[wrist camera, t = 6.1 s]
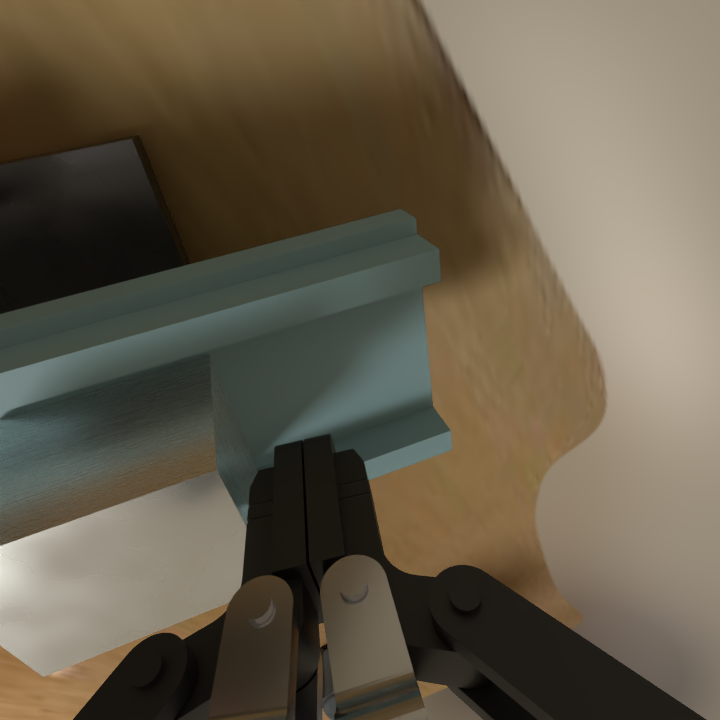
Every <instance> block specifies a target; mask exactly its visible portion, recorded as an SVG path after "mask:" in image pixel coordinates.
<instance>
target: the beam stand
mask: <svg viewBox="0 0 720 720" xmlns="http://www.w3.org/2000/svg"><path fill="white" fill-rule="evenodd" d="M189 264H190V263H189V260H188V258H187V255H186V253H185V250H184V248H183V245H182V243H181V240H180V238H179V235H178V233H177V230H176V228H175V225H174V223H173V220H172V218H171V215H170V213H169V210H168V208H167V205H166V203H165V200H164V198H163V195H162V193H161V190H160V188H159V185H158V183H157V180H156V178H155V175H154V173H153V170H152V168H151V165H150V163H149V160H148V158H147V155H146V153H145V150H144V148H143V145H142V143H141V140H140V138H139V136H134V137H129V138H124V139H119V140H114V141H109V142H104V143H99V144H94V145H89V146H84V147H79V148H74V149H69V150H64V151H59V152H54V153H49V154H43V155H38V156H33V157H28V158H23V159H18V160H13V161H8V162H3V163H0V314H3V313H6V312H10V311H14V310H18V309H22V308H25V307H29V306H33V305H37V304H41V303H44V302H48V301H52V300H56V299H60V298H63V297H67V296H71V295H75V294H79V293H82V292H86V291H90V290H94V289H98V288H101V287H105V286H109V285H113V284H117V283H120V282H124V281H128V280H132V279H136V278H139V277H143V276H147V275H151V274H155V273H158V272H162V271H166V270H170V269H174V268H177V267H181V266H185V265H189Z"/></svg>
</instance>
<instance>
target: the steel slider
mask: <svg viewBox="0 0 720 720" xmlns="http://www.w3.org/2000/svg"><path fill="white" fill-rule="evenodd" d="M256 475H257V468H256V462H255V458H254V455H253V453H252V451H251V449H250V446H249V444H248V442H247V439H246V437H245V435H244V433H243V430H242V428H241V426H240V424H239V421H238V419H237V417H236V414H235V412H234V410H233V408H232V405H231V403H230V401H229V399H228V396H227V394H226V392H225V389H224V387H223V385H222V383H221V380H220V378H219V376H218V374H217V371H216V369H215V367H214V364H213V362H212V360H211V358H210V355H207V356H204V357H201V358H197V359H194V360H191V361H188V362H185V363H181V364H178V365H175V366H172V367H168V368H165V369H162V370H159V371H155V372H152V373H149V374H146V375H142V376H139V377H136V378H133V379H129V380H126V381H123V382H120V383H117V384H113V385H110V386H107V387H104V388H100V389H97V390H94V391H91V392H87V393H84V394H81V395H78V396H74V397H71V398H68V399H65V400H62V401H58V402H55V403H52V404H49V405H45V406H42V407H39V408H36V409H32V410H29V411H26V412H23V413H19V414H16V415H13V416H10V417H7V418H3V419H0V646H2V647H3V648H4V649H6V650H7V651H8V652H10V653H11V654H13V655H14V656H15V657H17V658H18V659H20V660H21V661H22V662H24V663H25V664H26V665H28V666H29V667H31V668H32V669H33V670H35V671H36V672H37V673H39V674H40V675H42V676H43V677H45V676H47V675H50V674H52V673H55V672H57V671H60V670H62V669H65V668H67V667H69V666H72V665H74V664H77V663H79V662H82V661H84V660H87V659H89V658H92V657H94V656H97V655H99V654H102V653H104V652H107V651H109V650H112V649H114V648H117V647H119V646H122V645H124V644H127V643H129V642H132V641H134V640H137V639H139V638H142V637H144V636H147V635H149V634H152V633H154V632H157V631H159V630H162V629H164V628H167V627H169V626H172V625H174V624H177V623H179V622H182V621H184V620H187V619H189V618H192V617H194V616H197V615H199V614H202V613H204V612H206V611H209V610H211V609H214V608H216V607H219V606H221V605H224V604H226V603H229V602H230V601H231V599H232V597H233V596H234V594H235V593H236V592H237V591H238V590H239V589H240V587H241V583H242V575H243V563H244V551H245V539H246V527H247V524H248V521H247V515H248V509H249V506H248V502H249V490H250V486H251V484H252V482H253V480H254V478H255V476H256Z"/></svg>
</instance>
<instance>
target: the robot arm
mask: <svg viewBox="0 0 720 720" xmlns="http://www.w3.org/2000/svg"><path fill="white" fill-rule="evenodd" d="M248 506H249V509H248V515H247V521H248V524H247V527H246V539H245V551H244V563H243V575H242V583H241V587H240V589H239V590H238V591H237V592H236V593H235V594H234V596H233V597H232V599H231V601H230V603H229V605H228V607H227V611H226V612H225V613H224V614H223V615H222V616H220V617H219V618H218V619H217V620H215V621H214V622H212V623H211V624H209V625H207V626H206V627H204V628H202V629H200V630H199V631H197V632H195V633H194V634H192V635H190V636H189V637H187V638H185V639H183V640H182V639H181V638H179V637H178V636H177V635H175V634H172V633H159V634H156V635H153V636H150V637H148V638H147V639H145V640H143V641H142V642H140V643H139V644H138V645H137V646H135V647H134V648H133V649H132V650H131V651H130V652H129V653H128V655H127V656H126V657H125V658H124V659H123V661H122V662H121V663H120V664H119V665H118V666H117V668H116V669H115V670H114V671H113V672H112V674H111V675H110V676H109V677H108V678H107V680H106V681H105V682H104V683H103V684H102V686H101V687H100V688H99V689H98V690H97V691H96V693H95V694H94V695H93V696H92V697H91V699H90V700H89V701H88V702H87V703H86V705H85V706H84V707H83V708H82V709H81V711H80V712H79V713H78V714H77V715H76V716H75V718H74V719H73V720H322V706H323V662H322V655H321V652H320V639H319V624H320V623H324V625H325V632H326V639H327V646H328V653H329V659H330V666H331V673H332V680H333V687H334V694H335V702H336V712H335V715H334V720H428V718H427V714H426V711H425V707H424V704H423V700H422V697H421V693H420V690H419V687H418V684H417V681H423V682H429V683H435V684H441V685H447V686H448V687H449V689H450V690H451V691H452V692H453V693H455V694H456V695H457V696H458V697H459V698H460V699H461V700H462V701H464V703H466V704H467V705H468V706H469V707H470V708H471V709H472V710H473V711H475V712H476V713H477V714H478V715H479V716H480V717H481V718H482V719H483V720H706V719H704V718H703V717H701V716H700V715H698V714H697V713H695V712H694V711H693V710H691V709H689V708H688V707H686V706H685V705H684V704H682V703H681V702H679V701H677V700H676V699H675V698H673V697H671V696H670V695H668V694H667V693H666V692H664V691H662V690H661V689H660V688H658V687H657V686H655V685H654V684H652V683H651V682H649V681H647V680H646V679H645V678H643V677H642V676H640V675H638V674H637V673H636V672H634V671H633V670H631V669H630V668H628V667H627V666H625V665H623V664H622V663H621V662H619V661H618V660H616V659H614V658H613V657H612V656H610V655H608V654H607V653H606V652H604V651H602V650H601V649H600V648H598V647H597V646H595V645H593V644H592V643H591V642H589V641H588V640H586V639H585V638H583V637H582V636H580V635H579V634H577V633H575V632H574V631H573V630H571V629H570V628H568V627H567V626H565V625H564V624H562V623H561V622H559V621H558V620H556V619H555V618H553V617H552V616H550V615H549V614H547V613H546V612H544V611H543V610H541V609H540V608H538V607H537V606H535V605H534V604H532V603H531V602H529V601H528V600H526V599H525V598H523V597H522V596H520V595H519V594H517V593H516V592H514V591H513V590H511V589H510V588H508V587H507V586H505V585H504V584H502V583H501V582H499V581H498V580H496V579H495V578H493V577H492V576H490V575H489V574H487V573H486V572H484V571H482V570H481V569H478V568H476V567H473V566H468V565H457V566H453V567H449V568H447V569H445V570H443V571H442V572H441V573H439V574H438V576H437V577H428V576H419V575H412V574H408V573H405V572H403V571H401V570H399V569H397V568H396V567H394V566H393V565H392V564H391V563H390V562H389V561H388V560H387V558H386V557H385V555H384V551H383V546H382V541H381V536H380V531H379V526H378V522H377V517H376V512H375V507H374V502H373V497H372V493H371V489H370V485H369V480H368V476H367V472H366V468H365V463H364V461H363V459H362V458H361V457H360V456H359V455H358V454H357V452H356V451H355V450H354V449H349V450H345V451H340V452H336V450H335V446H334V443H333V439H332V436H331V434H325V435H321V436H317V437H312V438H308V439H304V441H303V440H299V441H295V442H291V443H286V444H282V445H277V446H275V448H274V467H270V468H266V469H261V470H259V471H258V473H257V475H256V476H255V478H254V480H253V482H252V484H251V486H250V490H249V502H248ZM416 680H417V681H416Z"/></svg>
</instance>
